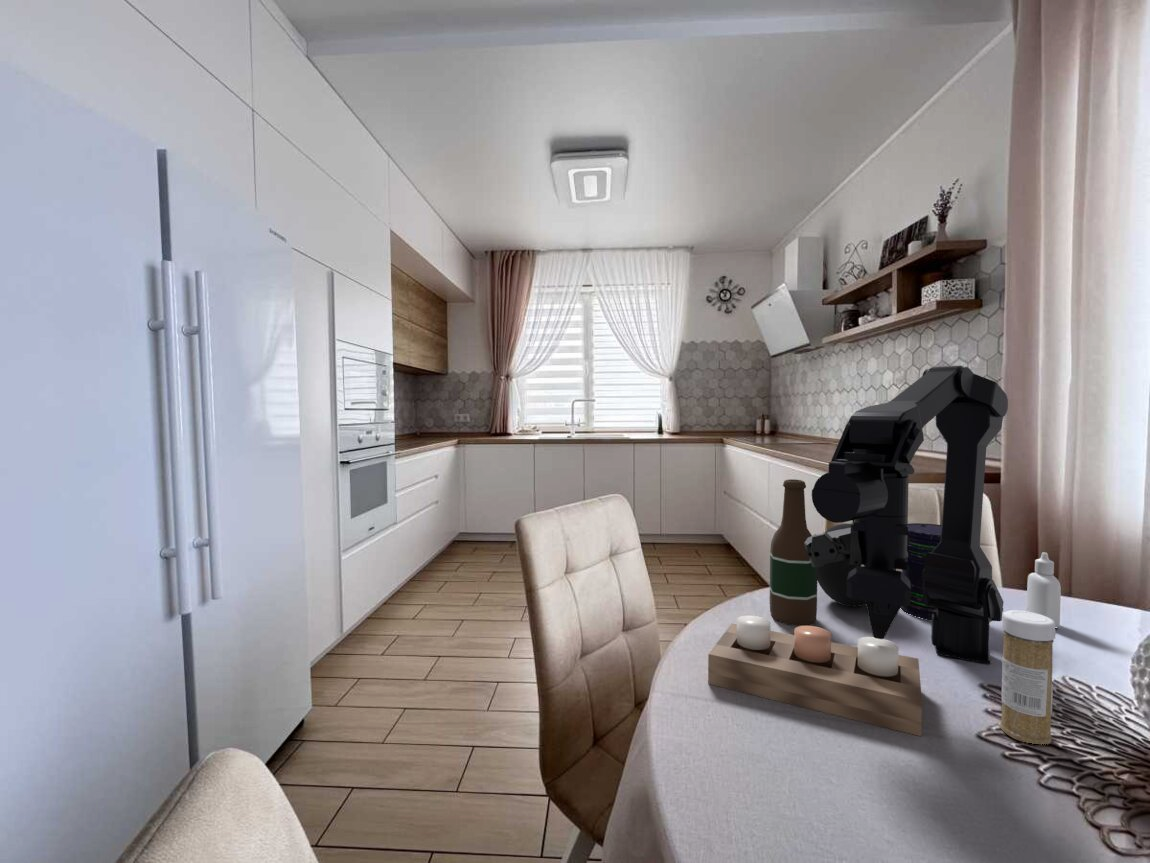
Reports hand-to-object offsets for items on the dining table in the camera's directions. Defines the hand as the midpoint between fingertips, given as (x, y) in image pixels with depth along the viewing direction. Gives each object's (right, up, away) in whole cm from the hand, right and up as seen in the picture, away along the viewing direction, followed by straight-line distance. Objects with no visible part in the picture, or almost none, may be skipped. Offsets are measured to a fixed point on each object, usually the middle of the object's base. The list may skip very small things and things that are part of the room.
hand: (878, 637), depth 69 cm
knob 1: (-13, -4, +8) cm, 16 cm away
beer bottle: (0, -7, +28) cm, 29 cm away
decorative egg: (+13, -7, +34) cm, 37 cm away
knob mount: (-7, -8, +4) cm, 11 cm away
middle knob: (-7, -4, +4) cm, 9 cm away
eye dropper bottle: (+41, -7, +25) cm, 49 cm away
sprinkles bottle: (+12, -9, -7) cm, 17 cm away
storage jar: (+26, -7, +30) cm, 40 cm away
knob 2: (0, -4, 0) cm, 4 cm away
